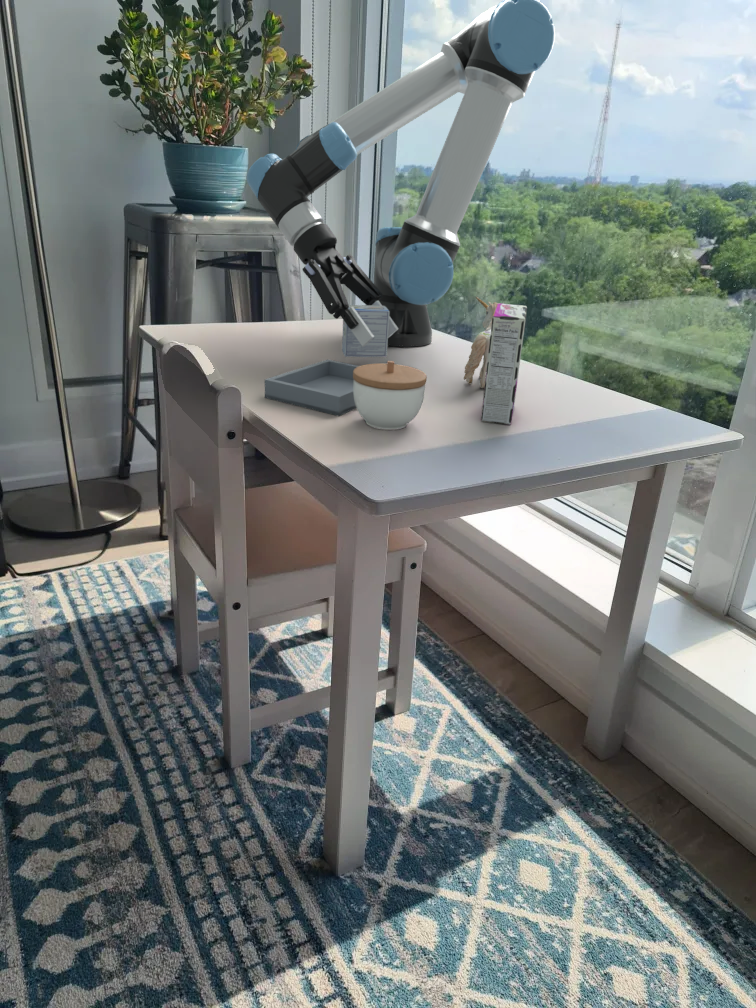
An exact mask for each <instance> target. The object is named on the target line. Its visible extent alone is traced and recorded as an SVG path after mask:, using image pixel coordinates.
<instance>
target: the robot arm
mask: <svg viewBox="0 0 756 1008" xmlns="http://www.w3.org/2000/svg"><path fill="white" fill-rule="evenodd" d="M555 30H556V29H555V23H554V20H553V18H552V15H551V13H550V11H549V8H547V7H546V5H545V4H544V3H542V2H541V1H540V0H501V1H500V2H499V3H498V4H496V5H495V6H492V7H490V8H488V9H487V10H485V11H484V12H482V13H480V15H478V16H477V17H476V18H474V20H473V21H472V22H470V24H468V25H467V26H466V27H464V29H462V30H461V31H459V33H457V34H456V35H454V36H452V38H450V39H449V40H448V41H446V42H444V43H443V44H442V46H441V50H440V52H439V53H438V54H436V55H435V56H432V57H431V58H430V59H428V60H426V61H425V62H423V63H422V64H420V65H419V66H417V67H415V68H414V69H412V70H411V71H409V72H408V73H406V74H404V75H402V77H400V78H398V79H397V80H395V81H394V82H392V83H391V84H389V85H386V87H384V88H382V89H381V90H380V91H378V92H376V93H374V94H373V95H371V96H370V97H368V98H367V99H365V100H363V101H361V102H360V103H358V104H357V105H355V106H354V107H352V108H351V109H349V110H348V111H345V113H343V114H341V115H340V116H338V117H337V118H335V119H334V120H332V121H330V122H329V123H328V124H326V125H324V126H322V127H321V128H319V129H318V130H316V131H315V132H313V133H311V134H310V135H309V134H308V135H307V136H305V137H303V138H302V139H300V140H299V142H298V144H297V145H296V148H295V150H294V151H293V152H292V153H290V154H289V155H287V156H286V157H284V158H283V159H282V158H281V157H280V156H279V155H278V154H276V153H267V154H265V155H264V156H260V157H259V158H258V159H257V160H255V161H254V162H253V164H252V165H251V166H250V167H249V169H248V170H247V173H246V181H247V185H248V186H249V188H250V190H251V191H252V193H253V194H254V196H255V197H256V199H257V201H258V202H259V203H260V205H261V206H262V207H263V209H264V210H265V211H266V213H267V215H269V217H270V219H271V220H272V221H273V223H274V224H275V225H276V227H277V228H278V229H279V230H280V232H281V233H282V235H283V237H284V239H285V240H286V241H287V242H288V243H289V245H290V246H291V247H293V251H294V253H295V254H296V255H297V257H298V259H299V260H300V261H301V262H302V264H303V265H304V267H303V268H302V272H303V273H304V275H306V277H307V278H308V279H309V280H310V282H311V284H312V285H313V287H314V289H315V291H316V293H317V295H318V297H319V298H320V300H321V301H322V304H323V305H324V308H325V309H326V310H327V312H328V313H329V314H330V315H332V316H333V318H334V319H335V320H338V319H339V318H340V317H341V319H342V321H343V320H344V321H345V322H346V324H347V326H348V327H349V328H350V330H351V331H352V332H353V334H354V335H355V337H356V338H357V340H358V341H359V342H360V344H361V345H362V347H363V346H365V345H366V344H367V343H368V342H369V341H370V340H371V339H372V338H374V335H373V334H372V333H371V331H370V330H369V328H368V327H367V325H366V324H365V323H364V321H363V320H362V318H361V317H360V316H359V314H358V313H357V311H356V310H355V308H354V307H350V308H349V305H350V304H349V302H348V299H347V297H346V294H345V292H344V291H345V290H344V289H343V287H342V285H344V286H345V287H347V289H348V290H350V292H351V293H353V294H354V295H355V297H356V298H358V299H359V300H360V301H361V302H362V303H363V304H365V305H375V306H385V307H386V308H387V309H388V310H389V311H390V314H389V329H388V345H387V346H388V347H389V346H390V347H403V348H404V347H405V348H407V347H409V348H410V347H421V346H427V345H429V344H431V342H432V338H433V329H432V325H431V321H430V316H429V312H428V307H427V305H429V304H433V303H435V302H436V301H439V300H440V299H441V298H442V297H443V296H444V295H445V294H446V293H447V292H448V290H449V289H450V288H451V285H452V282H453V280H454V261H455V258H456V256H457V254H458V252H459V249H460V247H461V243H460V240H459V236H458V231H459V229H460V226H461V224H462V221H463V219H464V217H465V215H466V213H467V210H468V208H469V206H470V203H471V201H472V199H473V196H474V193H475V191H476V188H477V186H478V184H479V183H480V179H481V178H482V175H483V173H484V171H485V168H486V165H487V163H488V160H489V158H490V156H491V154H492V151H493V149H494V147H495V145H496V141H497V139H498V137H499V135H500V132H501V130H502V128H503V126H504V123H505V121H506V118H507V116H508V114H509V111H510V109H511V107H512V105H513V103H515V102H517V101H519V100H521V99H523V98H525V95H526V92H527V90H528V88H529V86H530V84H531V82H532V79H533V76H534V74H535V72H536V71H538V70H539V69H541V68H542V67H543V65H544V64H545V63H546V61H548V59H549V58H550V55H551V53H552V51H553V50H554V49H553V48H554V44H555V39H556V31H555ZM458 93H461V94H463V97H462V99H461V101H460V104H459V105H458V106H459V107H458V109H457V110H456V111H457V112H456V113H455V116H454V119H453V121H452V124H451V126H450V128H449V131H448V133H447V136H446V138H445V141H444V144H443V147H442V149H441V151H440V153H439V157H438V159H437V161H436V164H435V166H434V168H433V170H432V173H431V176H430V178H429V180H428V183H427V185H426V188H425V191H424V194H423V195H422V198H421V200H420V203H419V206H418V208H417V210H416V214H414V215H413V216H411V217H408V218H406V219H405V220H404V221H403V223H402V226H401V227H399V226H393V227H392V226H385V227H381V228H379V229H378V230H377V232H376V239H375V241H374V245H375V254H374V255H375V257H374V271H373V281H372V280H371V279H370V278H369V276H368V275H367V274H366V273H365V272H364V270H363V269H362V268H361V267H360V266H359V264H358V263H357V262H356V260H355V258H354V256H353V255H352V254H350V253H349V254H347V256H343V255H342V254H341V253H340V252H339V251H338V250H337V249H336V247H337V243H338V240H337V237H336V235H335V234H334V233H333V231H332V230H331V229H330V227H329V226H328V224H327V223H325V219H324V218H323V217H322V216H321V214H320V213H319V211H318V210H317V209H316V207H315V206H314V204H313V203H312V202H311V201H310V198H308V197H309V196H311V195H313V194H314V193H315V192H316V191H317V190H318V189H319V188H321V187H322V186H323V185H325V184H326V183H328V182H329V181H330V180H331V179H333V178H334V177H335V176H338V174H340V173H341V172H343V171H346V169H347V168H348V167H349V166H350V165H351V164H352V163H353V162H354V161H355V160H356V159H357V157H358V155H359V154H361V153H362V152H364V151H366V150H367V149H369V148H371V147H372V146H374V145H375V144H377V143H379V142H380V141H382V140H383V139H386V138H387V137H389V136H390V135H391V134H394V133H395V132H396V131H398V130H400V129H401V128H403V127H405V126H406V125H408V124H409V123H411V122H413V121H414V120H416V119H417V118H419V117H421V116H422V115H423V114H426V113H427V112H428V111H430V110H432V109H433V108H435V107H436V106H439V105H441V104H442V103H443V102H444V101H447V100H448V99H450V98H451V97H453V96H455V95H457V94H458ZM348 308H349V309H348Z"/></svg>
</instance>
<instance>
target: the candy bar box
mask: <svg viewBox="0 0 756 1008" xmlns="http://www.w3.org/2000/svg"><path fill="white" fill-rule="evenodd" d="M527 309H528V307H527V305H521V304H512V303H509V304H508V303H503V302H501V303H499V304H497V305H496V309H495V312H494V314H493V317H492V327H491V335H490V344H489V353H488V362H487V371H486V379H485V389H484V388H483V399H482V400H483V401H482V408H481V415H480V416H481V417H480V421H481V422H483V423H489V424H498V425H512V420H513V414H514V409H515V401H516V396H517V395H516V394H517V386H518V379H519V374H520V373H519V372H520V366H521V365H520V364H521V357H522V349H523V342H524V334H525V328H526V327H525V326H526V320H527Z"/></svg>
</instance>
